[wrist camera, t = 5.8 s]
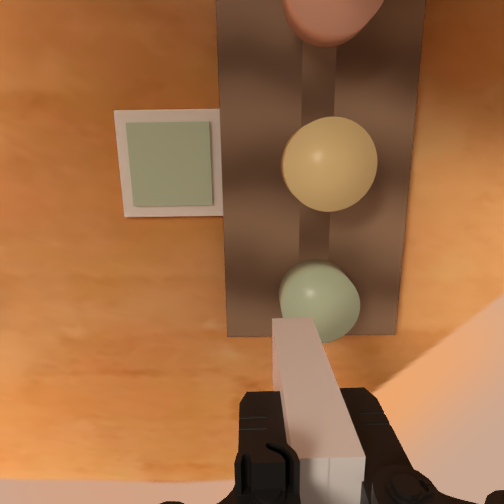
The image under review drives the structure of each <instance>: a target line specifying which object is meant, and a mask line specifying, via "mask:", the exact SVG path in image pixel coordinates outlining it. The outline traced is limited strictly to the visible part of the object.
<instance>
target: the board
mask: <svg viewBox="0 0 504 504" xmlns="http://www.w3.org/2000/svg"><path fill="white" fill-rule="evenodd" d="M425 5H426V0H384V1H383V3H382V5H381V7H380V8H379V10H378V11H377V12H376V14H375V15H374V16H373V17H372V18H371V19H370V20H369V22H368V23H367V24H366V25H365V26H364V27H363V28H362V29H361V31H360V32H359V33H358V34H357V35H356V36H354V37H353V38H352V39H350V40H349V41H347V42H345V43H344V44H341V45H338V46H334V47H327V48H326V47H317V46H313V45H311V44H308V43H306V42H305V41H303V40H302V39H300V38H299V37H298V36H297V35H296V34H295V33H294V32H293V30H292V29H291V28H290V26H289V24H288V22H287V20H286V18H285V15H284V11H283V6H282V0H216V18H217V47H218V76H219V105H220V135H221V164H222V193H223V222H224V252H225V281H226V310H227V337H261V336H272V318H283V316H282V311H281V306H280V301H279V288H280V284H281V281H282V279H283V277H284V276H285V274H286V273H287V272H288V271H289V270H290V269H291V268H292V267H294V266H295V265H297V264H299V263H301V262H303V261H306V260H312V259H320V260H326V261H329V262H331V263H333V264H335V265H336V266H338V267H339V268H340V269H341V270H342V271H343V272H344V273H345V275H346V276H347V277H348V278H349V280H350V281H351V282H352V284H353V285H354V286H355V288H356V290H357V292H358V294H359V298H360V312H359V316H358V319H357V321H356V323H355V324H354V326H353V327H352V328H351V330H350V331H349V332H348V333H346V334H345V335H395V333H396V322H397V311H398V300H399V289H400V278H401V267H402V256H403V245H404V234H405V223H406V212H407V202H408V191H409V180H410V169H411V158H412V147H413V136H414V125H415V114H416V103H417V92H418V81H419V70H420V59H421V48H422V37H423V26H424V16H425ZM324 117H343V118H347V119H349V120H352V121H354V122H356V123H357V124H359V125H360V126H361V127H363V128H364V129H365V130H366V132H367V133H368V134H369V135H370V137H371V139H372V140H373V143H374V145H375V148H376V152H377V171H376V175H375V178H374V181H373V183H372V185H371V187H370V189H369V190H368V191H367V193H366V194H365V195H364V196H363V197H362V198H361V199H360V200H359V201H358V202H356V203H355V204H353V205H352V206H350V207H348V208H345V209H343V210H339V211H333V212H323V211H318V210H315V209H312V208H310V207H308V206H306V205H304V204H303V203H302V202H300V201H299V200H298V199H297V198H296V197H295V196H294V195H293V194H292V193H291V192H290V191H289V189H288V188H287V186H286V184H285V182H284V179H283V176H282V172H281V158H282V154H283V151H284V148H285V146H286V144H287V142H288V140H289V139H290V138H291V136H292V135H293V134H294V133H295V132H296V131H297V130H299V129H300V128H301V127H303V126H305V125H307V124H309V123H311V122H313V121H315V120H317V119H320V118H324Z"/></svg>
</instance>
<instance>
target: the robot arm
mask: <svg viewBox="0 0 504 504" xmlns="http://www.w3.org/2000/svg"><path fill="white" fill-rule="evenodd" d="M272 371H273V390H274V391H263V392H247V393H246V394H245V396H244V397H243V399H242V401H241V402H240V409H239V446H238V453H237V456H236V460H235V463H234V467H235V486H234V488H233V490H232V491H231V492H230V494H229V495H228V496H227V497H226V498H225V499H223V500H222V501H221V502H219V503H217V504H476V503H472V502H468V501H464V500H460V499H457V498H453V497H450V496H447V495H444V494H442V493H441V492H439V491H438V490H437V489H436V487H435V486H434V485H433V484H432V482H431V481H430V480H429V479H428V478H427V477H425V476H424V475H422V474H421V473H420V472H419V471H416V470H414V469H413V467H412V465H411V463H410V462H409V460H408V458H407V456H406V454H405V452H404V450H403V448H402V446H401V444H400V443H399V440H398V438H397V436H396V435H395V433H394V431H393V429H392V427H391V426H390V424H389V421H388V419H387V417H386V415H385V414H384V411H383V410H382V407H381V406H380V404H379V402H378V400H377V398H376V397H374V396H373V395H372V394H371V393H370V392H369V391H368V390H366V389H365V388H339V386H338V384H337V381H336V378H335V376H334V373H333V371H332V368H331V365H330V363H329V360H328V358H327V355H326V352H325V350H324V347H323V345H322V342H321V339H320V337H319V334H318V332H317V329H316V326H315V324H314V321H313V319H312V317H310V318H272ZM161 504H184V503H181V502H175V501H173V502H171V501H166V502H163V503H161ZM485 504H504V490H498V491H494V492H492V493H491V494H489V495H488V496H487V498H486V501H485Z"/></svg>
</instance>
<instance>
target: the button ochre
mask: <svg viewBox="0 0 504 504" xmlns="http://www.w3.org/2000/svg"><path fill="white" fill-rule="evenodd" d="M376 171H377V152H376V148H375V145H374V143H373V140H372V139H371V137H370V135H369V134H368V133H367V132H366V130H365V129H364V128H363V127H361V126H360V125H359V124H357V123H356V122H354V121H352V120H349V119H347V118H343V117H324V118H320V119H317V120H315V121H313V122H311V123H309V124H307V125H305V126H303V127H301V128H300V129H299V130H297V131H296V132H295V133H294V134H293V135H292V136H291V138H290V139H289V140H288V142H287V144H286V146H285V148H284V151H283V154H282V158H281V172H282V176H283V179H284V182H285V184H286V186H287V188H288V189H289V191H290V192H291V193H292V194H293V195H294V196H295V197H296V198H297V199H298V200H299V201H300V202H302V203H303V204H304V205H306V206H308V207H310V208H312V209H315V210H318V211H323V212H333V211H339V210H343V209H345V208H348V207H350V206H352V205H353V204H355V203H356V202H358V201H359V200H360V199H361V198H362V197H363V196H364V195H365V194H366V193H367V191H368V190H369V189H370V187H371V185H372V183H373V181H374V178H375V175H376Z"/></svg>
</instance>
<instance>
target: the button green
mask: <svg viewBox="0 0 504 504" xmlns="http://www.w3.org/2000/svg"><path fill="white" fill-rule="evenodd" d="M279 301H280V306H281V311H282V316H283V318H310V317H312V319H313V321H314V324H315V326H316V329H317V332H318V334H319V337H320V339H321V342H322V343H328V342H332V341H335V340H337V339H339V338H341V337H342V336H344V335H345V334H346V333H348V332H349V331H350V330H351V328H352V327H353V326H354V324H355V323H356V321H357V319H358V316H359V312H360V298H359V294H358V292H357V290H356V288H355V286H354V285H353V284H352V282H351V281H350V280H349V278H348V277H347V276H346V275H345V273H344V272H343V271H342V270H341V269H340V268H339V267H338V266H336V265H335V264H333V263H331V262H329V261H326V260H320V259H312V260H306V261H303V262H301V263H299V264H297V265H295V266H294V267H292V268H291V269H290V270H289V271H288V272H287V273H286V274H285V276H284V277H283V279H282V281H281V284H280V288H279Z"/></svg>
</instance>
